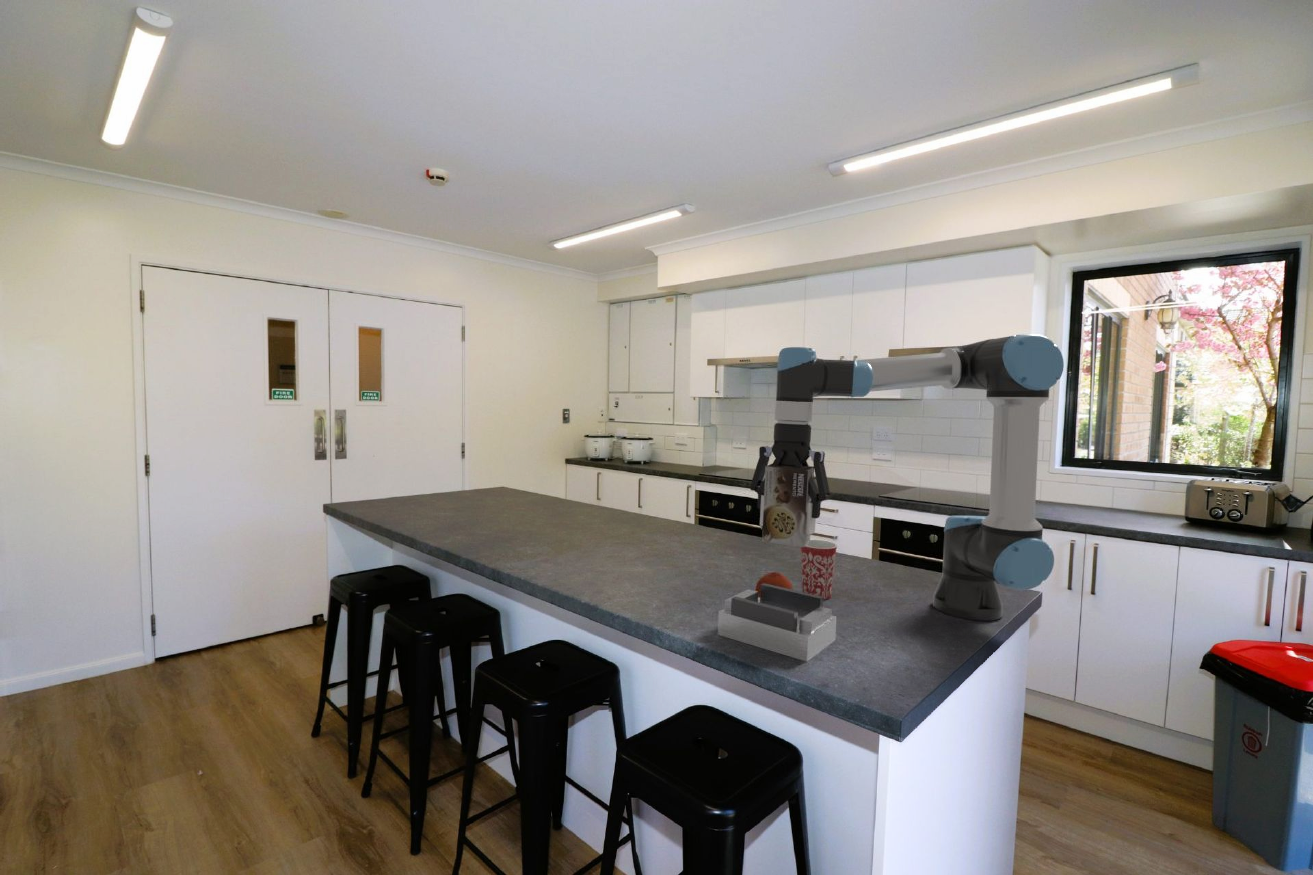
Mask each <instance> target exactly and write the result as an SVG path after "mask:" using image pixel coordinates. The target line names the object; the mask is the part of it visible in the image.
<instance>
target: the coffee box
mask: <svg viewBox="0 0 1313 875" xmlns="http://www.w3.org/2000/svg"><path fill="white" fill-rule="evenodd" d="M772 464H773V463H770V464H768V465H767V466H765V474H764V479H765V490H764V512H763V526H762V536H761V542H762V543H771V544H779V545H785V546H794V547H800V548H801V547H805V546H806V545H807V544H809V543H810V540H811V534H810V535H808V534H806V520H807V504H808V502H810V501H811V498H810V496H809V494H808V482H809V479H810V477H811V475H812V477H813V479H814V478H815V476H814V474H815V470H814V465H813V466H812V465H811V466H810V465H809V467H806V468H796V467H791V466H781V465H778V466H777V465H772ZM803 467H804V466H803Z"/></svg>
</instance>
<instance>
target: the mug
mask: <svg viewBox="0 0 1313 875" xmlns="http://www.w3.org/2000/svg"><path fill="white" fill-rule="evenodd" d="M800 548H801V550H800V551H801V552H800V554H801V555H800V556H801V559H800V560H801V592H804V593H809V594H813V595H817V596H822V597H823V601H824V600H825V601H826V600H829V599H831V598H832V593H833V591H832V590H833V583H834V574H835V572H834V571H835V564H836V556H837V548H838V544H836V543H834V542H831V541H827V540H823V539H822V540H821V539H810V543H809V544H807V545H806V546H805V547H800Z"/></svg>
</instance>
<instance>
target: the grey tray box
mask: <svg viewBox="0 0 1313 875" xmlns="http://www.w3.org/2000/svg"><path fill="white" fill-rule="evenodd" d="M717 617H718V622H717V635H718V636H721V637H725V638H727V639H731V640H735V641H738V642H741V643H744V644H747V645H749V646H750V645H751V646H754V647H757V648H761V649H764V650H767V651H770V652H773V653H777V654H781V655H784V656H786V657H790V658H793V659H797V660H800V661H803V662H806V663H807V662H809V661H810V660H812V659H813V658H814V657H815V656H817V655H818V654H819V653H821V652H822V651H824V649H826V648H827V647H829V645H831V644H832V643H834V642H835V641H836V636H837V634H836V633H837V616H836V615H833V609H832V608H827V607H824V600H823V597H822V596H817V595H813V594H809V593H804V592H802V591H798V590H795V589H793V590H791V589H787V588H783V587H778V586H774V585H770V584H765V583H763V584H761V590H760V598H759V597H758V591H755V589H753V590H752V589H749V588H748V589H746V590H743V591H741V592H739V593H737V594H735V595H733V596H731V597H728V598H727V599H725V600H724V608H723V609H721V610H719V611H718V616H717Z"/></svg>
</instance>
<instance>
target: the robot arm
mask: <svg viewBox="0 0 1313 875" xmlns="http://www.w3.org/2000/svg"><path fill="white" fill-rule="evenodd" d="M1064 366H1065V365H1064V357H1063V353H1062V352H1061V349H1060V348H1059V347H1058V345H1057V344H1055V343H1054V341H1053V340H1051V339H1050V338H1048V337H1047V336H1045V335H1041V334H1036V333H1031V334H1026V333H1022V334H1015V335H1011V336H1010V335H1009V336H1003V337H997V338H989V339H985V340H981V341H977V342H974V343H969V344H965V345H964V344H963V345H960V346H953V347H945V348H943V349H942V350H941V351H940V352H937V353H936V352H934V353H923V354H913V355H901V356H890V357H879V358H868V359H867V358H866V359H857V360H856V359H853V360H848V359H846V360H845V359H823V358H818V357H817V353H816V349H814V348H812V347H805V346H804V347H802V346H790V347H784V348H782V349H781V350H779V353H778V360H777V368H776V398H775V407H774V408H775V409H774V421H777V423H775V424H774V425H773V445H771V446H768V445H765V446H764V445H761V446H760V447H759V449H758V453H759V455H758V456H759V457H758V460H757V463H756V467H755V469H754V473H753V476H752V480H751V483H750V485H749V489H750V491H752V492H755V493H756V494H757V504H756V505H757V506H756V507H757V509H758V510H759V513H760V514H759V516H760V517H759V526H760V527H763V512H764V490H765V466H768V465H769V461H770V457H771V456H772V454H773V456H774V458H775V459H774V460H773V462H772V463H771V464H772V465H777V466H778V465H781V466H791V467H796V468H806V467H809V466H810V465H809V463H808V461H807V460H808V459H809V458H811V461H812V462H813V467H814V474H815V480H816V482H815V480H814V478H813V477H812V475H811V477H810V479H809V482H808V494H809V496H810V498H811V501H810V502H808V504H807V520H806V534H808V535H810V536H811V535H813V534H815V533H816V521H817V520H816V519H819V518H820V516H821V505H822V502H824V501H828V500H830V499H831V492H830V491H831V490H830V488H829V481H828V478H827V472H826V467H825V457H826V453H825V451H823V450H820V451H819V450H818V451H817V450H812V448H811V440H812V438H811V437H812V436H811V435H812V426H811V424H809V423H811V422H812V420H813V419H812V418H813V403H814V398H816V397H843V398H844V397H847V398H849V397H850V398H864V397H865V396H867V395H869V393H870V392H880V391H883V392H884V391H891V390H892V391H893V390H903V389H915V388H926V387H927V388H928V387H939V386H942V387H943V388H944V389H947V390H951V389H952V390H953V389H973V390H983V391H984V390H985V391H986V396H985V398H986V400H987V401H988V402H989V403H990V404H991V405H993V406H992V407H993V415H992V416H993V418H992V419H993V422H992V444H991V446H992V447H991V468H990V470H991V471H990V491H989V510H988V511H989V513H988V515H986V516H985V515H984V516H983V515H950V516H948V517H947V518H946V520H945V524H944V529H943V532H944V533H943V534H944V536H943V537H944V538H943V551H942V552H943V553H942V554H943V555H942V556H943V557H942V571H941V572H942V573H941V577H940V579H939V582H937V583H938V584H937V586H936V588H935V590H934V593H933V597H932V606H933V608H934V609H935V610H937V611H939V612H941V613H943V614H946V615H949V616H953V617H956V618H962V619H966V620H974V621H996V620H999V619H1001V618H1002V617H1003V613H1004V605H1003V603H1002V602H1003V601H1002V599H1001V596H1000V592H999V588H998V585H997V583H998V584H1000V585H1001V586H1003V587H1006V588H1011V589H1014V590H1018V591H1028V590H1032V589H1035V588H1036V587H1038V586H1040V585H1041V584H1042V583H1043V582H1044V581H1046V580H1047V579H1048V578H1049V577H1050V575H1051V573H1052V571H1053V569H1054V567H1055V566H1054V565H1055V555H1054V552H1053V551H1054V550H1053V549H1052V548H1051V547H1050V545H1049V544H1048V543H1047V542H1046V541H1044V540H1043V533H1044V532H1043V531H1044V530H1043V525H1042V524H1041V523H1040V522H1039V521H1038V520H1037V519H1036V499H1037V480H1038V479H1037V478H1038V477H1037V476H1038V453H1039V436H1040V435H1039V434H1040V433H1039V432H1040V415H1041V414H1040V412H1041V410H1040V409H1041V406H1042V405H1043V404H1045V403H1046V402H1047V401H1048V400H1049V399H1050V389H1051V387H1053V386H1055V385H1056V384H1057V382H1058V380H1060V379H1061V377H1062V375H1063V372H1064V368H1065V367H1064ZM803 466H804V467H803Z"/></svg>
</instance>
